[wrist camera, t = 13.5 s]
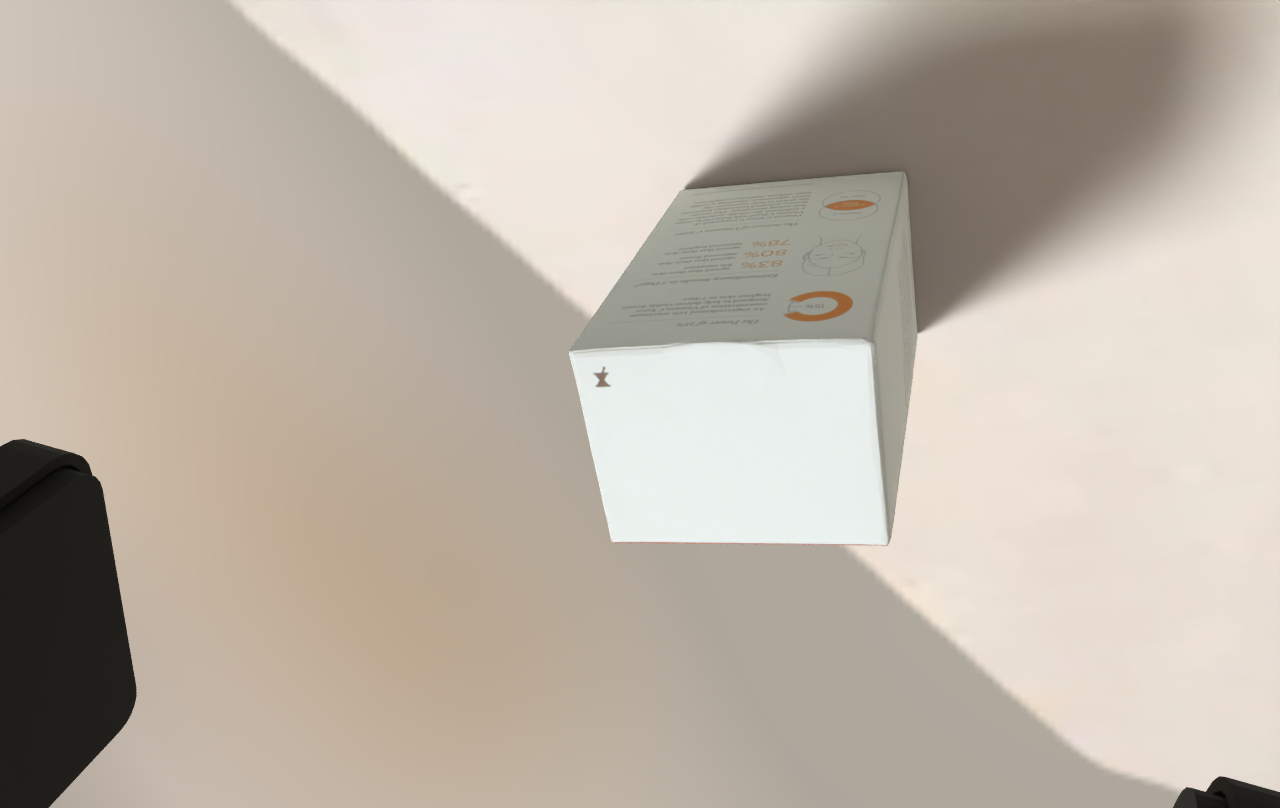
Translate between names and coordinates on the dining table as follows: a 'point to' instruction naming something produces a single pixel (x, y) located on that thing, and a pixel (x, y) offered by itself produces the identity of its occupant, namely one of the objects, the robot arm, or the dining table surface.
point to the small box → (757, 367)
